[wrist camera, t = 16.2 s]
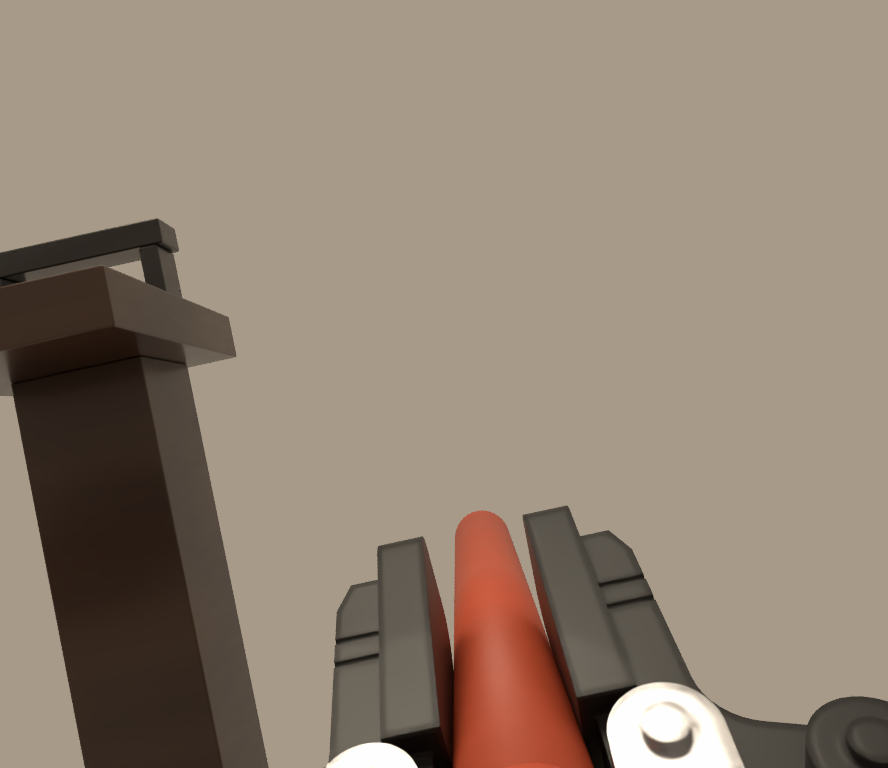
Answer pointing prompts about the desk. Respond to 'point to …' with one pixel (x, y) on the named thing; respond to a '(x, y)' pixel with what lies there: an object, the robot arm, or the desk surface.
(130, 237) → the brown pedestal stand
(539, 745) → the orange red rod
